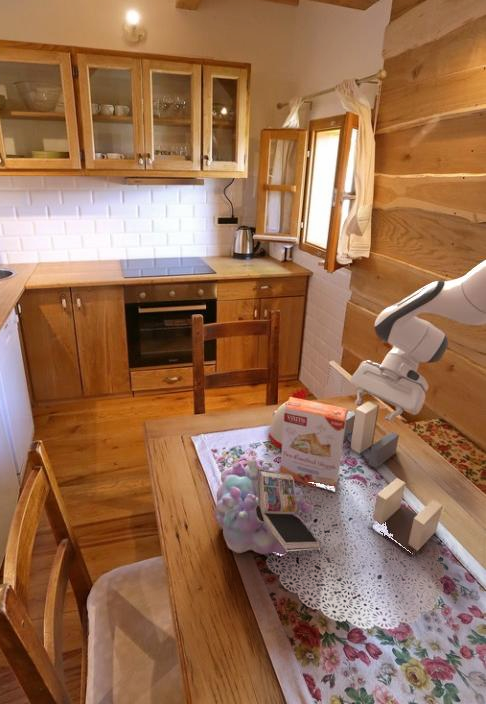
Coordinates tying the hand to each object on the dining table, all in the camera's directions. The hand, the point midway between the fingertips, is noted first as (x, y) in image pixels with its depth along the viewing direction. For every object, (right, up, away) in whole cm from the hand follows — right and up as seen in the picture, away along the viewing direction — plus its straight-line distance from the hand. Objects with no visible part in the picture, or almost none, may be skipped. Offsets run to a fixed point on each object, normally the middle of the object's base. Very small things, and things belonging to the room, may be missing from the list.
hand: (372, 412), depth 113 cm
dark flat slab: (-3, -20, -25) cm, 32 cm away
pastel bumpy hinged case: (-33, -20, -25) cm, 46 cm away
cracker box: (-20, -15, -10) cm, 27 cm away
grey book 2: (+2, -12, -3) cm, 12 cm away
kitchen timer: (-21, -9, +6) cm, 23 cm away
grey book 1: (-6, -8, +6) cm, 12 cm away
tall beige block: (-2, -10, +2) cm, 11 cm away
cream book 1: (-5, -17, -22) cm, 29 cm away
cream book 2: (0, -20, -28) cm, 34 cm away
